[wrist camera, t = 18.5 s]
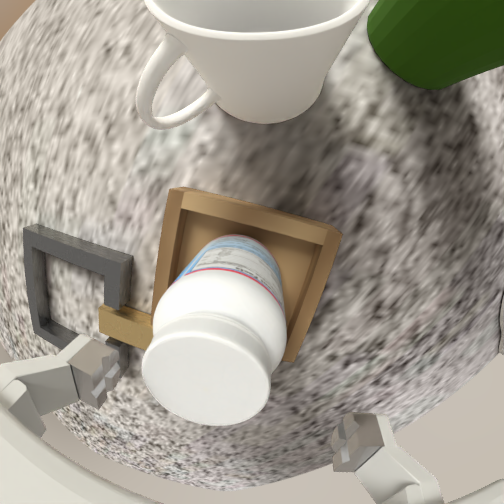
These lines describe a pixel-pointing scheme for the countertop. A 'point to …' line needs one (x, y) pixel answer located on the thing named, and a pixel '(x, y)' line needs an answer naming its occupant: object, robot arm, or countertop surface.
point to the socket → (83, 255)
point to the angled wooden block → (126, 325)
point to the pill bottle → (218, 334)
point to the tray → (263, 230)
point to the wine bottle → (438, 39)
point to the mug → (248, 54)
